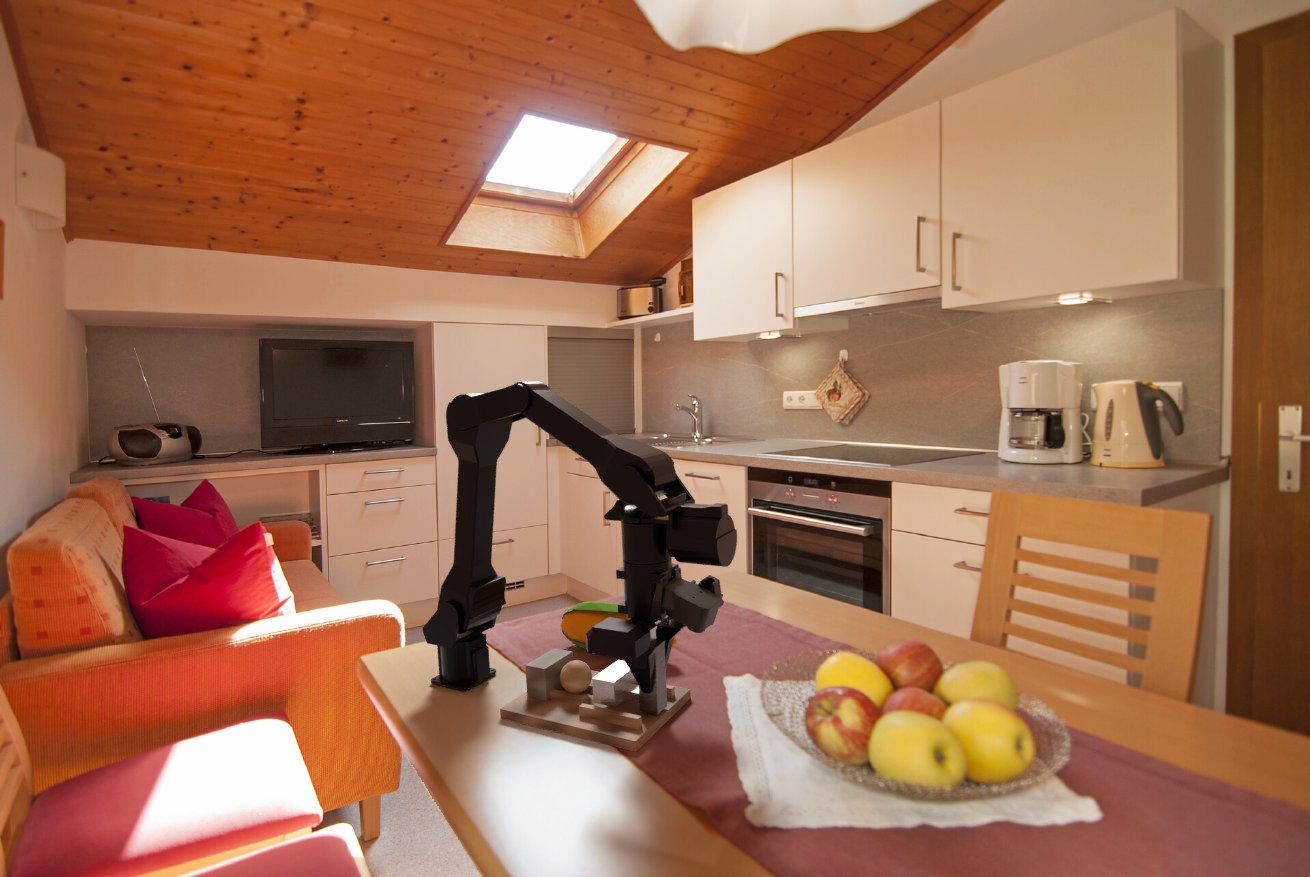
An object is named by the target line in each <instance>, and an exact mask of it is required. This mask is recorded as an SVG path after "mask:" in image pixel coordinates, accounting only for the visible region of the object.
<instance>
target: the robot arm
mask: <svg viewBox="0 0 1310 877" xmlns="http://www.w3.org/2000/svg"><path fill="white" fill-rule="evenodd" d="M526 419H527V420H528V421H529V422H531V423H533V424H534V425H535V426H536V427H538V428H540V429H541V430H543V431H544V432H545V433H547V434H548V435H550V436H551V437H552V438H554V439H555V440H557V441H558V442H560V444H562V445H564V447H567V448H568V449H570V450H571V451H573V453H574V454H576V455H578V456H579V457H580V458H582V459H584V460H585V461H586V462H588V463H589V464H590V465H591V467H592V468H594V470H595V472H596V474H597V476H598V477H599V480H600V481H601V483H602V484H603V485H604V486H605V488H607V489H608V491H610V492H611V493H612V494H613V495H614V496H615V497H616V498H617V500H616V501H615V503H614V505H613V506H612V507H611V508H610V509H609V510H608V511H607V512H606V513H604V515H603V518H604V520H605V521H616V522H620V525H621V549H622V550H621V551H622V566H621V567H619V568H618V569H616V570H615V574H616V576H615V577H616V580H623V592H624V593H623V595H624V600H623V601H622V602H620V603H617V604H618V613H621V614H628V617H629V619H627V620H624V619H618V618H611V617H608V618H607V619H605V620H603V621H602V622H600V623H598V624H597V625H595V626H593V627H592V628H591V629H590V630H589V631H588V632H587V633H586V646H587V649H586V651H587V653H588V654H592V655H598V656H603V657H609V658H613V659H614V658H615V659H618V660H623V661H625V662H626V664H627V665H628V667H629V669H630V671H631V672H632V674H633V676H634V678H635V680H636V682H637V683H638V685H639V687H640V689H641V691H642V692H643V693H648V694H650V693H651V692H652V686H653V676H654V661H655V652H656V650H657V649H658V648H659V647H660V646H661V645H662V644H663V643H664V642H665V663H666V669H667V668H668V663H669V659H670V655H671V651H672V647H673V646H672V644H673V641H674V638H675V636H677V635H678V634H679V633H681V631H682V630H684V629H685V628H687V630H689V631H691V632H693V633H695V634H703V633H704V632H705V631H706V629H707V628H709V627H710V626H713V625H714V624H715V620H716V618H717V614H718V612H719V609H720V608H721V607H723V606H724V604H725V602H724V594H723V593H722V588H721V581H720V579H719V578H717V577H715V576H713V575H710V574H708V575H707V576H706V577H703V578H702V579H701V580H700V581H699V582H698V583H696V582H697V580H694V579H693V580H692V581H689V580H686V579H684V578H683V576H682V567H680V566H679V565H680V564H679V563H681V564H693V565H703V566H713V567H714V566H715V567H723V568H726V567H727V568H728V567H729V566H730V565H731V564H732V563H733V561H734V557H735V554H736V552H737V545H738V531H737V529H736V528H735V523H734V520H733V518H732V516H731V515H730V514H729V506H728V505H729V504H727V503H721V502H720V503H719V502H718V503H712V504H703V503H696V501H695V498H694V497H693V495H692V494H691V492H690V491H689V490H688V488H687V487H686V485H685V484H684V482H683V481H682V480H681V478H680V476H679V475H678V474H677V472H676V471H677V470H676V468H675V461H674V460H673V458H672V457H671V456H670V455H669V454H668V453H667V452H665V451H663V450H662V449H659V448H656V447H654V446H652V445H649V444H648V443H645V442H643V441H639V440H637V439H632V438H629V437H625V436H623V435H620V434H617V433H615V432H613V431H612V430H611V429H610V428H607V427H606V426H604V425H603V424H602V423H600V422H599V421H597V420H596V419H594V418H593V417H592V416H590V415H589V414H587V413H586V412H585V411H583V410H581V409H579V407H577V406H575V405H574V404H573V403H571V402H569V401H568V400H566V399H565V398H563V397H562V396H560V395H559V394H557V393H556V392H554V391H553V390H551V388H550V387H549V386H548V384H546V383H544V382H542V381H540V380H539V381H517V382H515V383H513V384H511V385H508V386H506V387H503V388H500V389H495V390H492V391H487V392H483V393H479V392H478V393H462V394H458V395H456V396H454V397H453V399H451V401H450V402H448V403H447V406H446V410H445V420H446V421H445V422H446V432H447V440H448V441H447V442H448V443H449V445H450V446H451V449H452V450H453V453H454V454H455V456H456V458H457V461H458V463H457V465H458V466H457V480H456V481H457V486H456V487H457V488H456V504H455V506H456V507H455V523H454V524H455V525H454V526H455V527H454V548H453V549H454V550H453V563H452V566H451V567H450V570H449V571H448V573H447V574H446V577H445V578H444V581H443V582H442V584H441V586H440V591H439V597H438V603H437V608H436V611H435V612H434V613H433V615H432V616H431V617H430V618H429V619H428V621H427V622H426V624H424V626H423V627H422V633H423V636H424V638H425V642H426V644H429V645H433V646H437V648H436V649H437V650H436V651H437V661H438V662H437V663H438V664H437V665H438V675H436V676H434V677H433V678H431V679H430V683H431V684H433V685H437V686H442V687H446V688H450V689H456V690H459V691H463V692H464V691H467V690H470V689H471V688H473V687H475V686H476V685H479V684H480V683H482V682H483V681H485V680H487V679H489V678H490V677H492V676H494V675H496V674H497V669H496V668H493V667H491V666H490V650H489V645H488V643H487V633H485V631H487V630H490V629H493V628H495V626H496V625H495V624H496V621H497V616H499V615H500V613H501V612H502V608H503V606H505V605H506V604H507V601H506V596H505V590H506V586H507V579H506V577H505V576H501V575H498V573H497V571H496V570H495V568H494V566H493V565H492V556H493V554H492V553H493V538H494V535H493V534H494V523H495V522H494V518H495V502H496V501H495V500H496V485H497V484H496V482H497V466H498V460H499V459H500V456H501V455H502V454H503V451H504V450H505V448H506V446H507V445H508V442H509V440H510V436H511V432H512V428H513V427H512V426H513V423H517V422H519V421H522V420H526ZM664 496H665V497H664ZM661 497H664V498H662V499H660V498H661ZM672 558H674V560H675V561H676V562H678V563H673V559H672Z"/></svg>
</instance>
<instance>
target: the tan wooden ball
mask: <svg viewBox="0 0 1310 877" xmlns="http://www.w3.org/2000/svg"><path fill="white" fill-rule="evenodd" d="M591 670H592V669H591V668H590V666H589V665H588V664H587V663H586V662H584V661H582V660H579V659H573V661H570V662H568V663H567V664H566V665H565V666H564V667H563V668H562V670H561V673H560V681H561V684H562V686H563V688H564V689H565V690H566V691H568V692H570V693H575V694H578V693H581V692H583V691H585V690H586V689H587V688H588V687H589V685H590V683H591V680H592V672H591Z"/></svg>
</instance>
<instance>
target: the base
mask: <svg viewBox="0 0 1310 877" xmlns="http://www.w3.org/2000/svg"><path fill="white" fill-rule="evenodd" d="M573 654H574V653H573V651H571V650H565V649H559V648H555V647H553V648H552V649H550V650H549V651H547V652H545V653H543V654H542V655H540V656H539V657H537V658H535V659H533V660H531V661H530V662H528V663H527V664H525V679H526V680H525V681H526V682H525V685H526V691H525V692H524V693H523V694H521V695H519V696H517V697H516V698H515V699H513V700H511V701H510V702H509V703H507V704H505V705H504V706H502V707H501V708H499V713H500V714H499V715H500V716H499V717H500V719H502V720H506V721H510V722H514V723H518V724H521V725H522V724H523V725H525V726H526V725H527V726H528V727H529V726H530V727H534V728H537V729H542V730H547V731H551V732H554V733H557V734H563V735H567V736H571V737H574V738H578V739H582V740H586V741H590V742H594V743H599V744H603V745H607V746H610V747H615V748H619V749H624V750H627V751H632V752H637V751H638V750H639V749H641V747H643V746H644V744H646V743H647V742H648V740H650V739H651V738H652V737H653V736H654V735H655V734H656V733H657V732H658V731H659V730H660V729H661V728H662V727H663V726H664V725H665V724H666V723H667V722H668V721H670V719H671V718H672V717H673V716H674V715H675V714H676V713H677V712H678V711H680V709H681V708H683V706H685V705H686V704H687V703H688V701H689V700H690V699H691V697H692V696H691V693H692V692H691V689H690V688H688V687H687V688H686V687H682V686H681V687H680V686H677V685H671V684H666V688H667V707H666V708H665V709H663V710H662V711H661V712H660V713H659V714H658V715H657V714H652V713H647V712H643V711H640V703H635V702H630V701H625V700H623V701H622V702H621V703H620V704H618V705H617V706H616V707H611V706H606V705H602V704H597V703H593V683H592V680H591V683H590V685H589V687H588V688H587V689H586V690H585V691H583V692H581V693H578V694H575V693H570V692H568V691H566V690H565V689H564V688H563V686H562V684H561V681H560V673H561V670H562V668H563V667H564V666H565V665H566V664H567V663H568V662H570V661H573V660H574V655H573ZM591 672H592V678H593V677H595V676H596V675H598V674H599V673H600V672H601V671H596V670H592V669H591Z"/></svg>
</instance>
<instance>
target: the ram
mask: <svg viewBox="0 0 1310 877" xmlns="http://www.w3.org/2000/svg"><path fill="white" fill-rule="evenodd" d="M666 671H667V668H666V663H665V642H664V643H663V644H662V645H661V646H660V647H659V648H658V649H657V650H656V652H655V661H654V676H653V686H652V692H651V693H650V694H648V693H643V692H642V691H641V689H640V687H639V685H638V683H637V682H636V680H635V678H634V676H633V674H632V672H631V671H630V669H629V667H628V665H627V664H626V662H625V660H624V659H618V660H616V661H615V662H613V663H612V664H610V665H609V666H608V667H606V668H604V669H603V670H602V671H599V672H600V673H599V674H598V675H596V676H595V677H593V678H592V683H593V703H597V704H602V705H606V706H611V707H616V706H617V705H618V704H620V703H621V702H622V701H623V700H625V701H630V702H635V703H640V711H643V712H647V713H652V714H657V715H658V714H659V713H660V712H661V711H662V710H663V709H665V708H666V707H667V688H666V685H667V672H666Z"/></svg>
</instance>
